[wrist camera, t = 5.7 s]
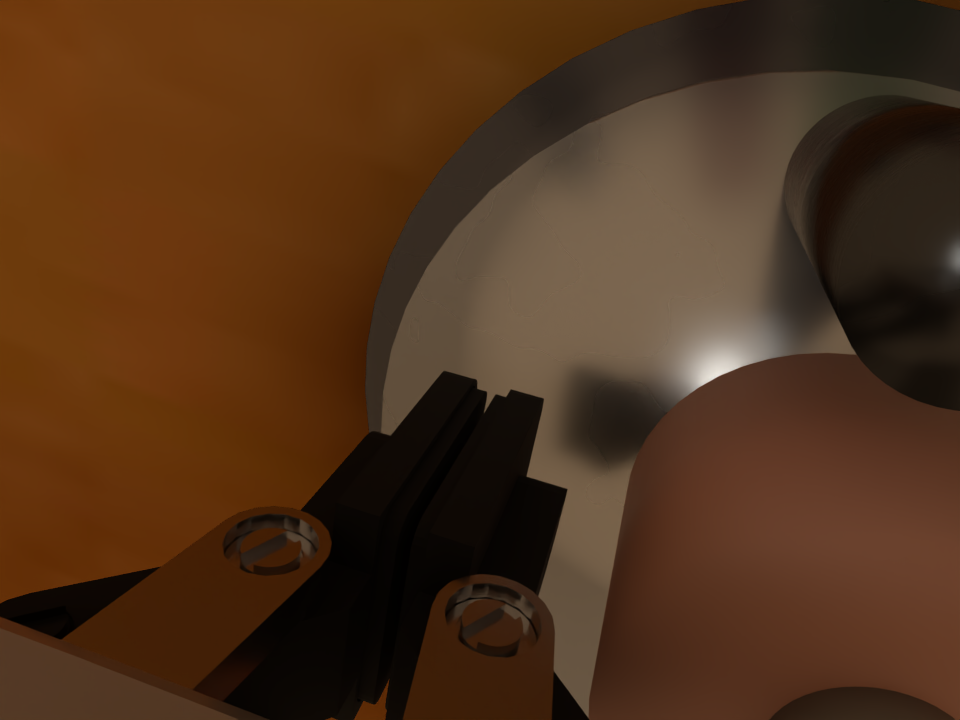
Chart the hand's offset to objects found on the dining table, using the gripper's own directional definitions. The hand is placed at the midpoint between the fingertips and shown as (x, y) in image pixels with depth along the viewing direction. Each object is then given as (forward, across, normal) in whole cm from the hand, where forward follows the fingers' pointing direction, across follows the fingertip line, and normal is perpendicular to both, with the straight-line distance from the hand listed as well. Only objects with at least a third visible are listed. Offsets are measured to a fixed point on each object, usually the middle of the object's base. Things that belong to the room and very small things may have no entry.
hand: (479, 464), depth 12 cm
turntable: (+2, -4, 0) cm, 5 cm away
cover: (+1, -5, 0) cm, 6 cm away
